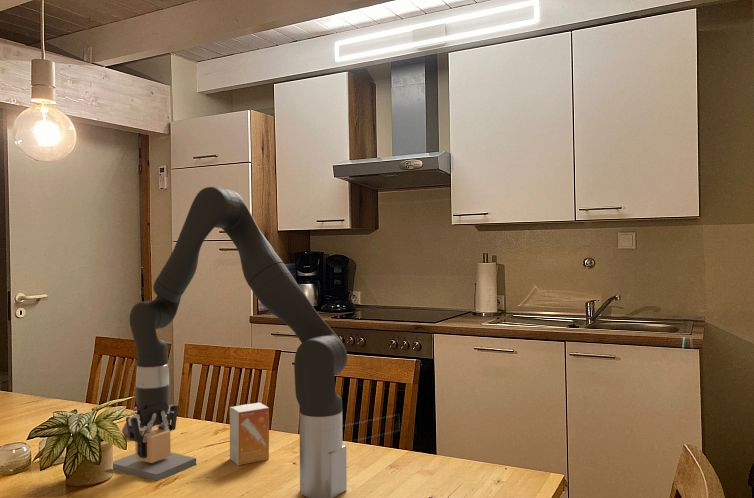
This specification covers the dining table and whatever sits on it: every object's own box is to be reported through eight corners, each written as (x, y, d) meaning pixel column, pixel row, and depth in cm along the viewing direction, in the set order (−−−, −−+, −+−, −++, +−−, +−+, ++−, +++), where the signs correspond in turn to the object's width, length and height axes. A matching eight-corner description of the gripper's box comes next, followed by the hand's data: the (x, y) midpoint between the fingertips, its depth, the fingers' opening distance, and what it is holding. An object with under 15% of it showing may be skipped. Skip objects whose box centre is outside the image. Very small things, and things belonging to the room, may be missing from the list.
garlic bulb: (116, 437, 170) (116, 408, 170) (138, 430, 177) (138, 402, 177) (135, 441, 167) (134, 411, 166) (156, 433, 173) (156, 405, 173)
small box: (238, 466, 147) (238, 412, 147) (229, 458, 152) (228, 406, 152) (269, 459, 151) (269, 407, 151) (259, 452, 157) (259, 401, 157)
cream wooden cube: (170, 455, 148) (170, 431, 148) (151, 463, 143) (151, 437, 143) (154, 452, 151) (154, 427, 151) (135, 459, 146) (135, 434, 146)
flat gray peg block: (196, 464, 148) (195, 439, 148) (156, 481, 138) (156, 454, 138) (150, 453, 156) (150, 430, 156) (109, 468, 145) (109, 443, 145)
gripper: (138, 391, 139) (139, 465, 139) (186, 379, 151) (187, 447, 151) (116, 387, 142) (117, 460, 142) (165, 376, 155) (165, 442, 155)
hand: (153, 453), depth 147 cm, fingers closed on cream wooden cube, 5 cm apart
